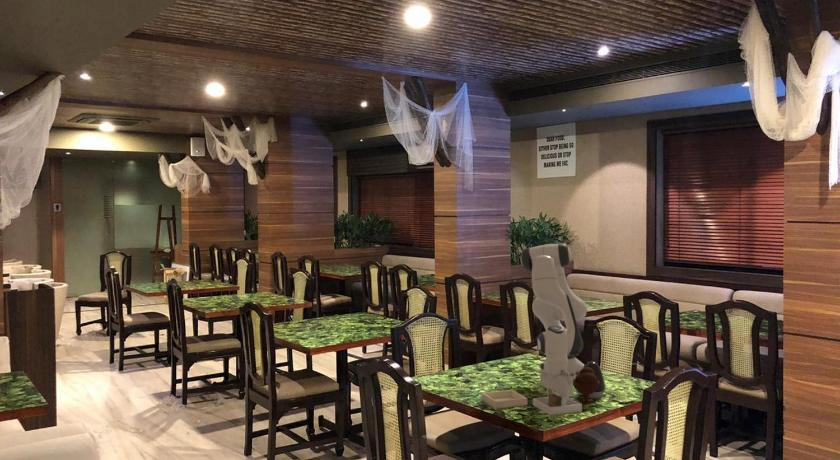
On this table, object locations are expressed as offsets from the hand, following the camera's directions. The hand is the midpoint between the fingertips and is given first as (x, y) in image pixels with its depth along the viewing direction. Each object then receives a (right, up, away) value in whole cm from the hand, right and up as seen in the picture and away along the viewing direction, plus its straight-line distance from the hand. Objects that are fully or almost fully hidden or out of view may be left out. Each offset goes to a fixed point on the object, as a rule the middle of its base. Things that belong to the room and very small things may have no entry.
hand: (556, 402), depth 270 cm
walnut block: (0, -2, 0) cm, 2 cm away
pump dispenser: (+18, -3, +18) cm, 26 cm away
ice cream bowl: (+13, -3, +8) cm, 16 cm away
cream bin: (-20, -3, +9) cm, 22 cm away
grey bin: (0, -3, 0) cm, 3 cm away
